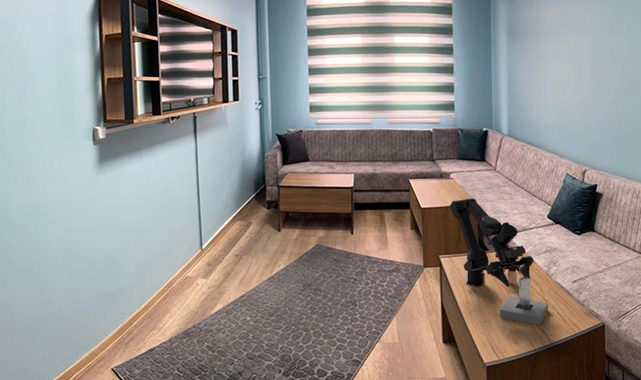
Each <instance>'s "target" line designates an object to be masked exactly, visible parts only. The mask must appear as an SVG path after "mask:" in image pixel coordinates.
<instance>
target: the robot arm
mask: <svg viewBox="0 0 641 380" xmlns="http://www.w3.org/2000/svg"><path fill="white" fill-rule="evenodd" d="M449 208H450V211H451V213H452V215H453V217H454V218H455V219H456V220H458V223H459V225H460V229H461V232H462V235H463V237H464V240H465V244H466V247H467V250H468V251H467V254H466V260H467V261H466V262H465V263H464V264H463V268H464V269H463V270H465V271H467V281H466V283H465V284H466V285H471V286H476V287H482V286H483V284H484V283H485V282H486V279H485V278H486V274H485V273H484V271H485V272H486V273H487V275H490V276H491V277H495V278H496V279H498V281H500V282H501V283H502V284H503V285H505V287H507V288H510V286H511V285H509V282H508V277H507V276H506V274H505V272H504V268H508V267H514V266H518V267H519V269H520V272H521V274H520V275H522V277H526V278H530V279H531V275H530V274H531V273H530V269H531V268H530V267H531V266H532V265H533V263H534V262H535V260H534V258H533V256H531V255H526V256H524V255H525V254H526V253H527V252H526V248H525V247H524V246H523V245H519V246H517V247H516V249H515V248H513V247H512V246H510V245H509V244H510V243H511V242H512V241H514V239H515V238H516V236H517V235H518V229H517V228H516V227H515V226H514V225H513V224H510V223H509V222H508V221H507V222H503V223H501V222H500V221H499V220H497V219H496V218H495V217H491V216H490V215H489V214H488V213H487V212H486V211H485V210H484V209H483V208H482V206H480V205H479V203H478V202H477V200H476V199H475V198H473V197H471V198H465V199H459V200H458V199H457V200H452V201H451V203H450V205H449ZM470 216H473V218H474V219H475V221H477V223H478V224H479V226H480V228H479V229H480V230H481V232H482V234H483V235H484V236H485V237H486V238H487V237H491V238H489V240H488V245H489V246H492V248H493V250H494V252H495V254H494V256H495V258H496V259H498V260H497V261H491V262H490V261H489V257H488V254H487V251H486V250H485V249H482V248H481V247H480V244H479V242H478V239H477V236H476V232H475V229H474V227H473V223H472V221H471V218H470ZM492 236H493V237H492ZM519 257H521V258H520V259H519Z"/></svg>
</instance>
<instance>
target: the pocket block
mask: <svg viewBox="0 0 641 380" xmlns="http://www.w3.org/2000/svg"><path fill="white" fill-rule="evenodd" d="M548 311H549V303H548V302H544V301H538V300H534V299H533V300H532V299H530V311H529V310H524V309H519V297H518V296H517V297H516V296H513V295H512V296H511V295H510V296H509V298H508V299H507V300H506V302H505V303H504V304H503V306H502V307H501V308H500V312H499V313H500V314H499V315H500V316H499V317H500V318H503V319H508V320H513V321H517V322H522V323H527V324H531V325H532V324H533V325H536V326H540V325H541V323H542V321H543V319H544V318H545V316H546V314H547V313H548Z"/></svg>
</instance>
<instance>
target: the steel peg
mask: <svg viewBox="0 0 641 380" xmlns="http://www.w3.org/2000/svg"><path fill="white" fill-rule="evenodd" d="M518 279H519V280H518V281H519V282H518V285H519V286H518V287H519V288H518V298H519V309H524V310H529V311H530V300H531V286H532V285H531V283H532V282H531V280H532V279H531V277H530V278H526V277H523V276H522V277H520V278H518Z"/></svg>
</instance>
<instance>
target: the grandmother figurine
mask: <svg viewBox="0 0 641 380" xmlns="http://www.w3.org/2000/svg"><path fill="white" fill-rule="evenodd" d="M505 271H507V280H508V282H509V285H510V286H512V285H513V286H518V285H519V282H518V274H519V275H522V274H521V272H520V268H519V267H518V266H514V267H508V268H504V273H505ZM517 273H518V274H517Z"/></svg>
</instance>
